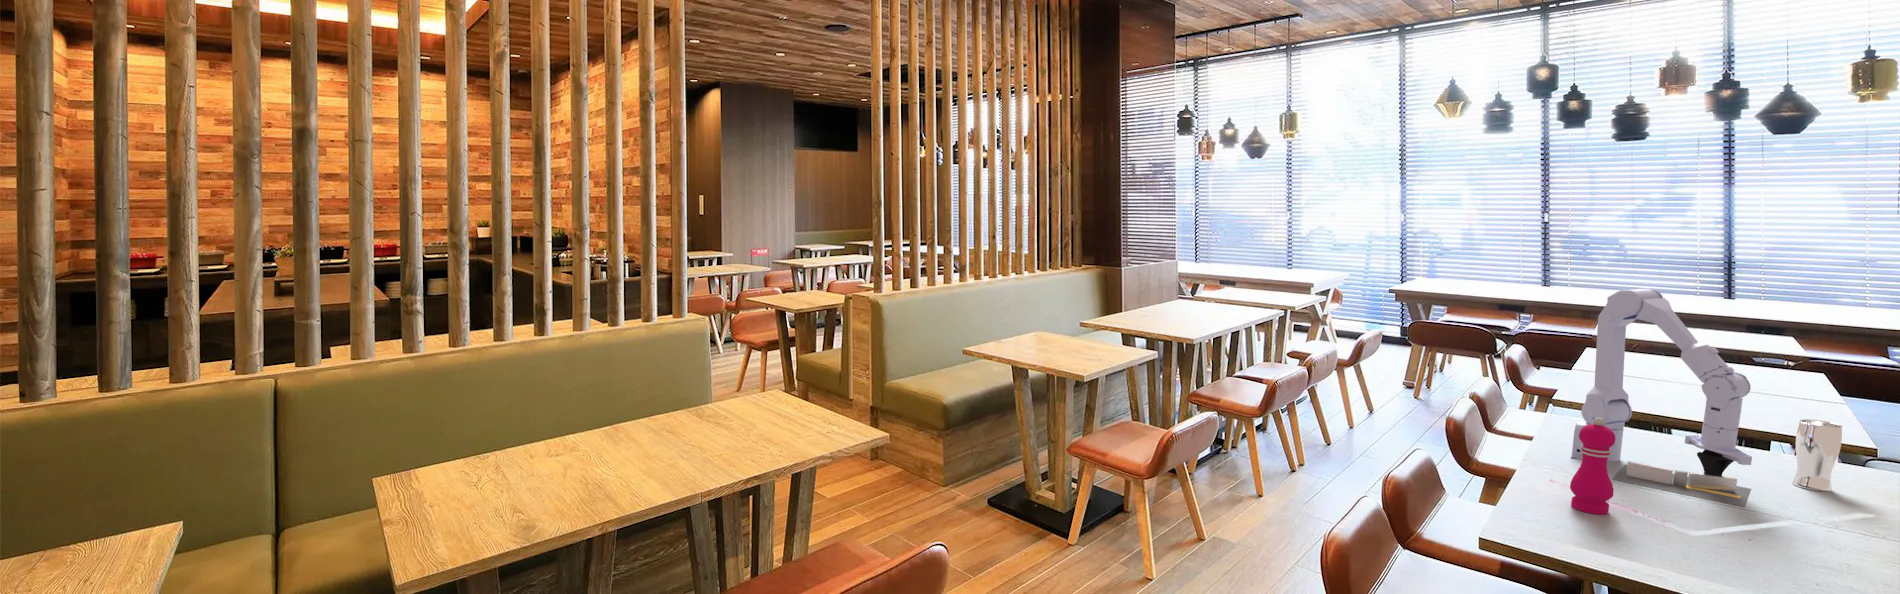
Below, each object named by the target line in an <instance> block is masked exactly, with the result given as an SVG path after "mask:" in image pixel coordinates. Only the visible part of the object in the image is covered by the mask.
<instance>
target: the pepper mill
mask: <svg viewBox="0 0 1900 594" xmlns="http://www.w3.org/2000/svg"><path fill="white" fill-rule="evenodd" d="M1593 423H1594V424H1589V425H1586V426H1584V427H1583V428H1582V429H1581V430H1580V432H1579V439H1580V440H1581V442H1582V443H1583V445H1581V450H1580V451H1581V452H1582V453H1583V458H1581V464H1580V466H1579V468H1578V469H1577V471H1576V472H1575V474H1574V475H1573V476H1572V479H1571V481H1570V484H1569V488H1570V491H1571V493H1572V494H1573V495H1574V496H1572V497H1571V501H1570V504H1571V507H1572V508H1573V509H1574V510H1576V511H1580V512H1582V513H1583V512H1584V513H1586V514H1590V515H1591V514H1593V515H1607V514H1609V508H1610V504H1609V503H1608V502H1609V500H1611V499H1612V498H1613V497H1614V486H1613V482H1612V479H1610V475H1609V472H1608V469H1607V468H1608V467H1607V465H1608V461H1607V459H1608V457H1610V456H1611V454H1610V452H1611V450H1610V449H1609V448H1610V447H1611V446H1613V445H1614V443H1615V440H1616V439H1615V434H1614V432H1613V431H1612V430H1611V429H1610V428H1608V427H1606V426H1603V424H1604V420H1603V419H1602V418H1595V419H1594V420H1593Z"/></svg>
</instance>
